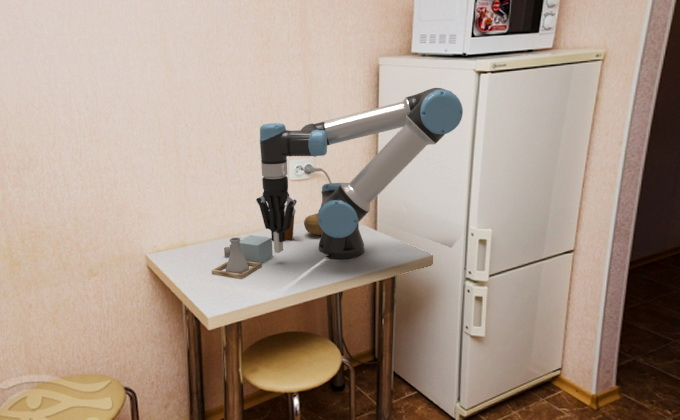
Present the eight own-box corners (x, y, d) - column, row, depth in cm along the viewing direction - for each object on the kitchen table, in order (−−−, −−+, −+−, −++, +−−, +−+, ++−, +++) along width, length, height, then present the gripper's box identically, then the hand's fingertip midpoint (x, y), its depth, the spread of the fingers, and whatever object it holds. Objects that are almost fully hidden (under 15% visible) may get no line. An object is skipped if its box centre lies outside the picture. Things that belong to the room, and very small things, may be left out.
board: (279, 260, 181) (278, 247, 180) (242, 283, 163) (241, 269, 162) (232, 253, 188) (231, 241, 187) (192, 274, 171) (191, 261, 169)
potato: (344, 232, 208) (344, 211, 206) (316, 241, 199) (316, 219, 197) (325, 227, 215) (325, 206, 213) (298, 235, 205) (297, 214, 203)
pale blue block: (272, 256, 181) (271, 237, 179) (258, 264, 174) (257, 245, 172) (251, 253, 184) (250, 235, 183) (237, 261, 177) (235, 242, 176)
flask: (252, 266, 173) (250, 235, 170) (245, 275, 166) (243, 243, 163) (229, 265, 174) (227, 234, 171) (221, 274, 167) (219, 242, 164)
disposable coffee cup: (296, 244, 196) (294, 211, 192) (268, 245, 196) (266, 211, 192) (298, 236, 205) (296, 204, 202) (271, 236, 205) (269, 204, 202)
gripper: (300, 175, 169) (303, 250, 175) (263, 172, 174) (267, 245, 180) (287, 180, 162) (291, 257, 168) (249, 177, 168) (254, 252, 174)
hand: (278, 251), depth 174 cm, fingers closed
